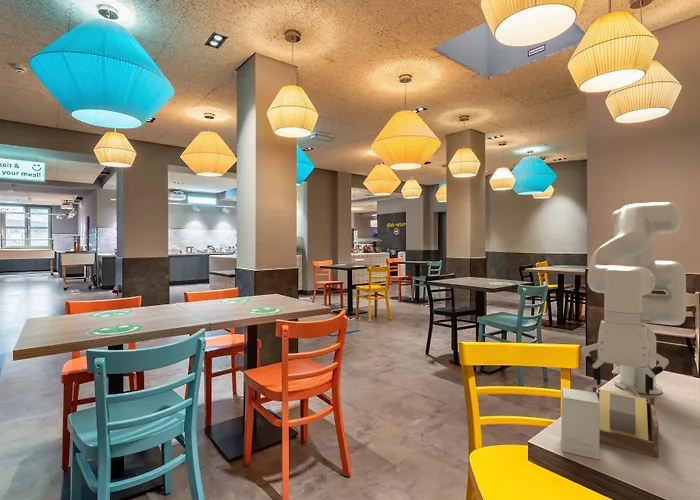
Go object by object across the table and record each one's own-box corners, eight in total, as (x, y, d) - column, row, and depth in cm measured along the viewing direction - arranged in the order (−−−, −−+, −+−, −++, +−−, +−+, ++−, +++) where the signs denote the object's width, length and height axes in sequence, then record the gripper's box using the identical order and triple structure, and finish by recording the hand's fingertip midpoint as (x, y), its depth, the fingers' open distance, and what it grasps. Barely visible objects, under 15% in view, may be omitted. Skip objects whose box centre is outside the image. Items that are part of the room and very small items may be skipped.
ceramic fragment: (649, 413, 106) (650, 399, 106) (628, 410, 108) (628, 397, 108) (628, 395, 120) (628, 383, 120) (609, 393, 121) (609, 381, 121)
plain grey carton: (610, 412, 96) (609, 393, 93) (634, 417, 93) (635, 398, 90) (609, 428, 92) (609, 409, 90) (635, 434, 90) (635, 415, 87)
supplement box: (600, 460, 82) (600, 403, 82) (561, 451, 86) (561, 397, 86) (597, 445, 89) (597, 392, 89) (561, 437, 92) (561, 386, 92)
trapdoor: (598, 390, 103) (598, 388, 103) (648, 400, 97) (648, 397, 96) (595, 435, 93) (595, 432, 93) (650, 449, 87) (650, 446, 86)
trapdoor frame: (593, 414, 104) (593, 384, 104) (653, 428, 97) (653, 395, 97) (588, 439, 91) (588, 405, 91) (658, 457, 83) (658, 420, 83)
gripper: (667, 319, 89) (666, 390, 90) (582, 312, 100) (582, 376, 100) (670, 325, 83) (670, 401, 84) (580, 316, 94) (579, 384, 94)
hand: (622, 387), depth 92 cm, fingers open, 9 cm apart
